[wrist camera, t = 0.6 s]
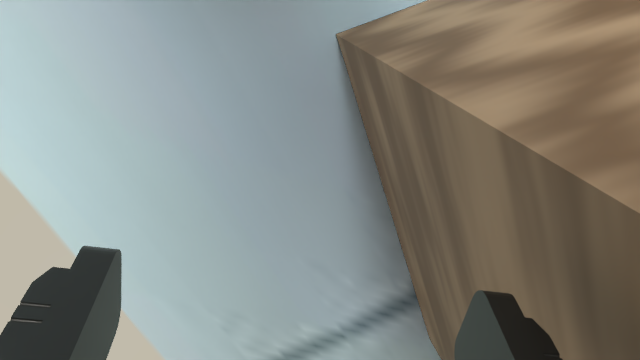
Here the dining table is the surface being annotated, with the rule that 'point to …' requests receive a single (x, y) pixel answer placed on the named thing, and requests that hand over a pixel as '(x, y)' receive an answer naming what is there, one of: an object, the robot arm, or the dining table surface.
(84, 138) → the dining table surface
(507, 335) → the robot arm
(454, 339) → the walnut stand
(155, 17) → the dining table surface
